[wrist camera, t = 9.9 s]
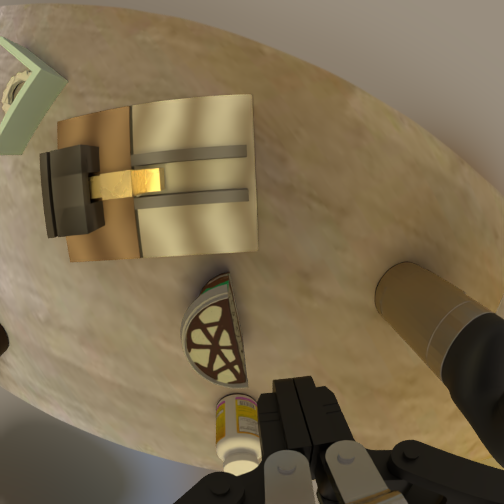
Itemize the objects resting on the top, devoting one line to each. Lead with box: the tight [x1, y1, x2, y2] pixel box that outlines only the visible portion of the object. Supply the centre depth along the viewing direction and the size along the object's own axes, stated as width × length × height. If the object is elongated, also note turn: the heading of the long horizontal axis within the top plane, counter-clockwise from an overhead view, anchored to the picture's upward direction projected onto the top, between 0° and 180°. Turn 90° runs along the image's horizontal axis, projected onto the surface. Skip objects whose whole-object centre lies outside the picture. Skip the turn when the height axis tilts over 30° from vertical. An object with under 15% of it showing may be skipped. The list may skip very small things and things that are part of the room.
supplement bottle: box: [216, 394, 262, 476], centre depth 38 cm, size 7×7×13 cm
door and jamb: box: [40, 94, 258, 262], centre depth 31 cm, size 24×18×7 cm
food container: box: [181, 272, 248, 389], centre depth 34 cm, size 12×6×10 cm, turn 9°
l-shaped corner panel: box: [0, 36, 68, 155], centre depth 26 cm, size 12×12×8 cm
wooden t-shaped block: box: [88, 168, 165, 200], centre depth 28 cm, size 12×2×7 cm, turn 92°
